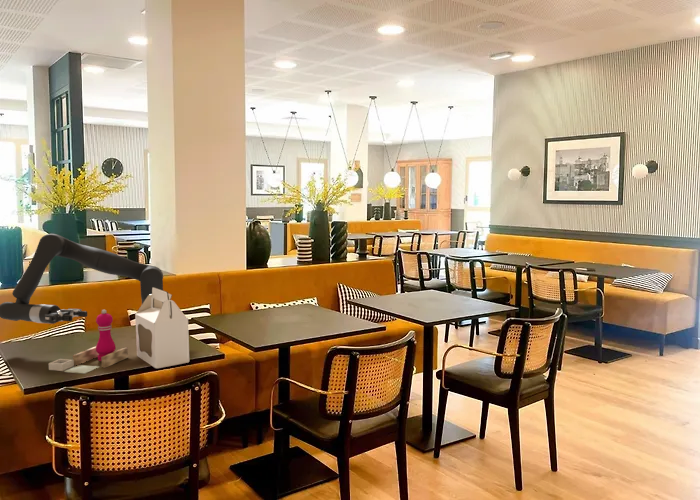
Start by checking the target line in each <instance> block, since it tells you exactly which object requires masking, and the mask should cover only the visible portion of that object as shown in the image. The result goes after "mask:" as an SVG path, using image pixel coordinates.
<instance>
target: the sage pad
mask: <svg viewBox="0 0 700 500" xmlns="http://www.w3.org/2000/svg"><path fill="white" fill-rule="evenodd" d="M96 368H97V369H99V368H100V366H99V365H84V364H79V365H77V366H76V365H74V366H73V367H71V368H69V369H66V370H64V371H63V372H64V373H69V374H70V373H72V374H84V375H86V374H88V373H90V372H92V371H95V370H97V369H96ZM94 369H95V370H94Z"/></svg>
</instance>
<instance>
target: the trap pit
mask: <svg viewBox="0 0 700 500" xmlns="http://www.w3.org/2000/svg"><path fill="white" fill-rule="evenodd" d="M73 367H75V365H74V360H73V359H69V358H68V359H67V358H58V359H56V360H54V361H51V362H49V363H48V371H58V372H59V371H60V372H64V371H66V370H68V369H71V368H73Z"/></svg>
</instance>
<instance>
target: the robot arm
mask: <svg viewBox="0 0 700 500" xmlns="http://www.w3.org/2000/svg"><path fill="white" fill-rule="evenodd" d="M55 257H60V258H65V259H69V260H73V261H75V262H77V263H79V264H81V265H83V266H85V267H87V268H90V269H91V270H94V271H97V272H101V273H104V274H107V275H113V276H120V277H127V278H130V279H133V280H136V281H139V283H140V284H139V285H140V297H141V305H142V304H143V302H144V301H145V299H146V298H147V296H148V295H150V294H152V288H153V287H155V288H158V289H161V290H163V291H164V285H163V283H164V282H163V281H164V280H163V279H164V273H163V271H162V269H161V268H160V267H158V266H155V265H149V264H146V263H141V262H137V261H134V260H131V259H129V258H127V257H124V256H121V255H119V254H117V253H115V252H114V253H113V252H111V251H108V250H104V249H102V248H98V247H94V246H89V245H85V244H81V243H77V242H75V241H72V240H69V238H67V237H64V236H62V235H60V234H56V233H48V234H45V235H43V236H42V237H41V238H40V239H39V241H38V245H37V246H36V249H35V253H34V254H33V256H32V258H31V261H30V263H29V264H28V267H27V268H26V269H25V271H24V273H23V274H22V276H21V277H20V278H19V280H18V282H17V284H16V285H15V287H14V289H13V290H12V296H13V297H14V298H15V299H16V300H15V302H13V301H4V302H2V303H0V319H3V320H8V321H14V322H18V321H25V322H33V323H37V324H49V325H54V324H57V323H59V322H73V319H74V318H78V317H81V318H86V317H88V311H86V310H82V309H81V308H71V307H70V308H68V309H65V308H63V309H61V308H60V306H58V305H56V304H44V303H43V304H42V303H41V304H40V303H39V304H34V303H32V304H31V303H30V302H31V301H30V300H31V297H32V296H33V295H34V293H35V292H36V289H37V288H38V286H39V284H40V283H41V280H42V277H43V275H44V273H45V271H46V269H47V268H48V265H49V264H50V263H51V261H52V260H54V258H55ZM162 303H164V302H162Z"/></svg>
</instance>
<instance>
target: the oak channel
mask: <svg viewBox="0 0 700 500" xmlns="http://www.w3.org/2000/svg"><path fill="white" fill-rule="evenodd" d="M128 351H129V349H128V347H122V348H119V349H117V350H115V351H114V352H112V353H110V354H108V355H105V356H103V357H101V360H102V361H101V368H102V367H103V368H108V367H111V366H112V365H114V364H116V363H117V364H118V363H119V362H121V361H123V360H125V359H128V358H129V352H128ZM98 355H99V354H98V353H97V352H96V345H95V346H93V347H90V348H88V349H84V350H82V351H80V352H78V353H75V354H73V355H72V360H74V366H76V365H77V366H78V365H82V364H83V363H87V362H89V361H91V360H93V358H94V359H96V358H98ZM86 361H87V362H86ZM81 363H82V364H81Z"/></svg>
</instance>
